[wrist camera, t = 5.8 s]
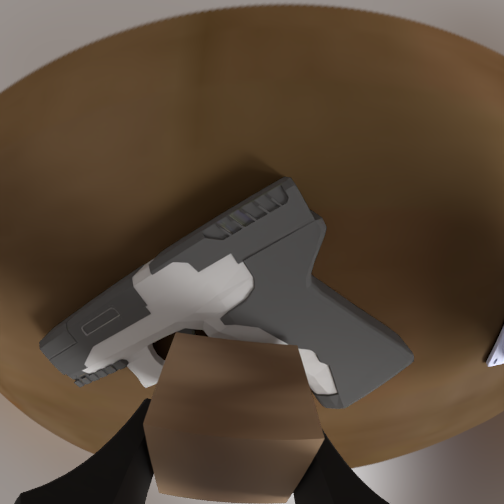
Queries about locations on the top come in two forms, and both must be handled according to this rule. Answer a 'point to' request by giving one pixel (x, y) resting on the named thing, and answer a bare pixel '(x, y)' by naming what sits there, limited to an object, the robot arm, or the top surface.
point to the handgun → (235, 304)
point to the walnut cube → (231, 421)
